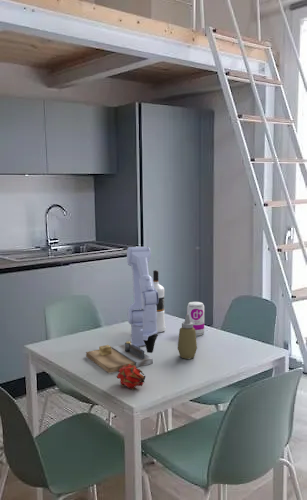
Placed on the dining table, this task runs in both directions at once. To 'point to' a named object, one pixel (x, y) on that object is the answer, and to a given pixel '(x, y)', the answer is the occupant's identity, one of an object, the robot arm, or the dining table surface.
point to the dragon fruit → (130, 376)
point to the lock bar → (134, 349)
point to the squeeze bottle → (187, 339)
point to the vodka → (159, 303)
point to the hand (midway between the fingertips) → (150, 352)
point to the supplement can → (196, 316)
